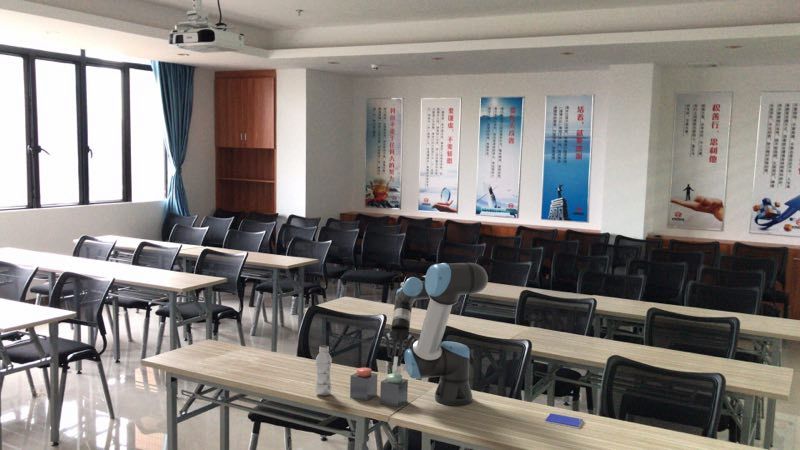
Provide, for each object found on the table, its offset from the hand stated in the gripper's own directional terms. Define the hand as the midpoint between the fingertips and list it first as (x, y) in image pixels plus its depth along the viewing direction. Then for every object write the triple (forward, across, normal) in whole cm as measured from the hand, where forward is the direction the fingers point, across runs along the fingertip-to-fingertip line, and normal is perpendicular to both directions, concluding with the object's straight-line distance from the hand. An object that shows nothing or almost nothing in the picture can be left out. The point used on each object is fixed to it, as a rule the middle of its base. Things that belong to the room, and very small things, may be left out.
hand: (394, 372), depth 273 cm
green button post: (+9, 0, -8) cm, 12 cm away
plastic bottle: (+7, +30, -11) cm, 32 cm away
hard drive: (+14, -66, -4) cm, 68 cm away
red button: (+5, +13, -11) cm, 18 cm away
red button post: (+6, +13, -12) cm, 18 cm away
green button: (+8, 0, -7) cm, 11 cm away
